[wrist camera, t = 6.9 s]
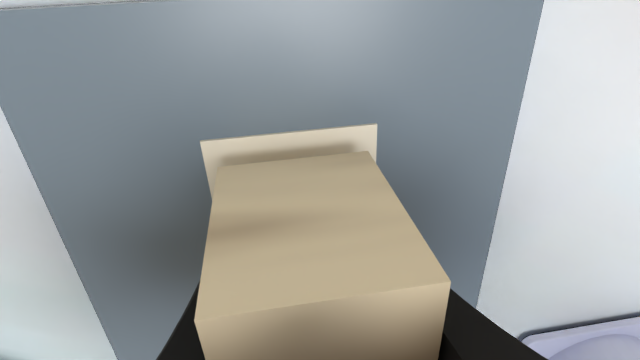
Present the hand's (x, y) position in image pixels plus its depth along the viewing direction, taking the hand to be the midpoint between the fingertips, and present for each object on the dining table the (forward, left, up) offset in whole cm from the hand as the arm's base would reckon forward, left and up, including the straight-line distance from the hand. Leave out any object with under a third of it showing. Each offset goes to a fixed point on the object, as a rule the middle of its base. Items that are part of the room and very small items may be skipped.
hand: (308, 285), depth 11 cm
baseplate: (0, 0, -3) cm, 3 cm away
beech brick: (0, 0, -1) cm, 1 cm away
